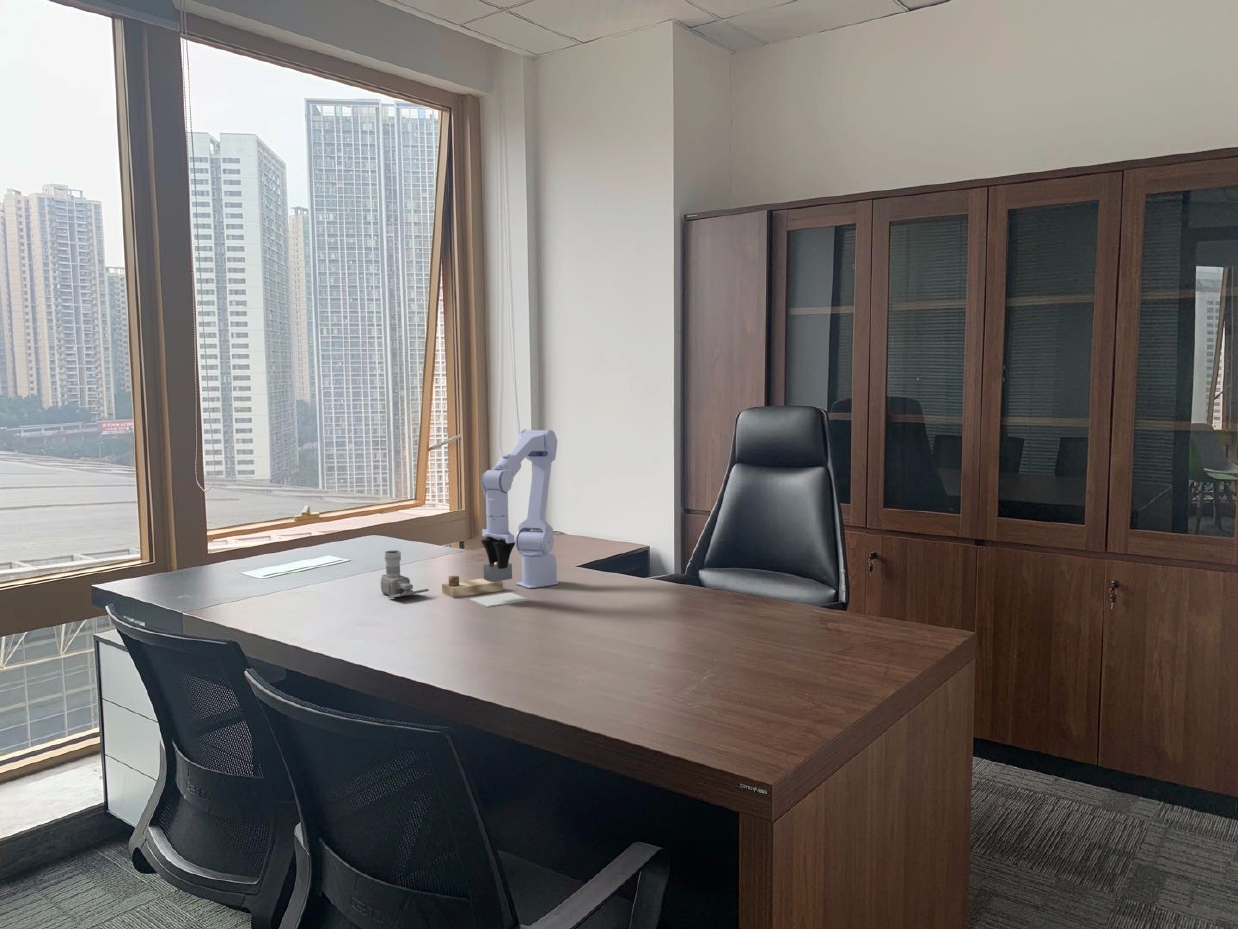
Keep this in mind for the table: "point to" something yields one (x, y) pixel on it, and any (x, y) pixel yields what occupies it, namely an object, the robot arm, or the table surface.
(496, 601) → the felt mat
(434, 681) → the table surface
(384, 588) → the camera
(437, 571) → the table surface
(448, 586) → the body
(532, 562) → the robot arm
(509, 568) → the lever cap
